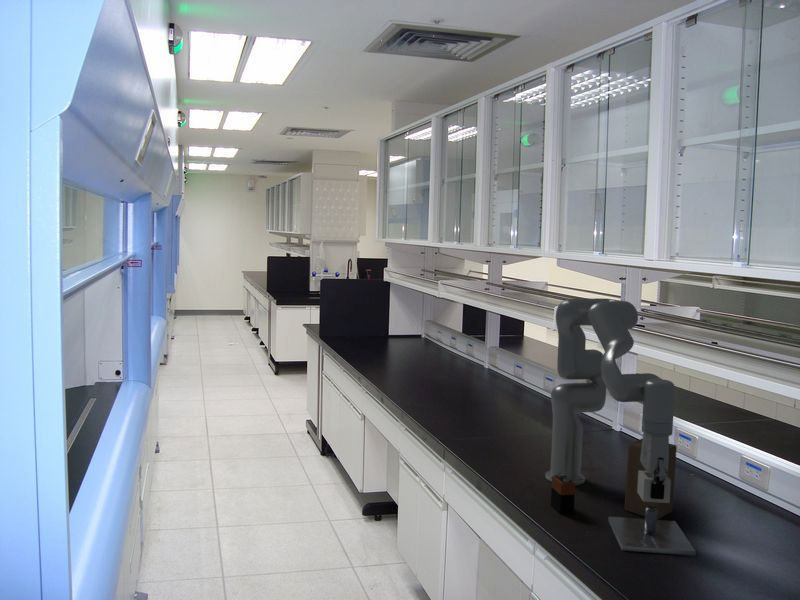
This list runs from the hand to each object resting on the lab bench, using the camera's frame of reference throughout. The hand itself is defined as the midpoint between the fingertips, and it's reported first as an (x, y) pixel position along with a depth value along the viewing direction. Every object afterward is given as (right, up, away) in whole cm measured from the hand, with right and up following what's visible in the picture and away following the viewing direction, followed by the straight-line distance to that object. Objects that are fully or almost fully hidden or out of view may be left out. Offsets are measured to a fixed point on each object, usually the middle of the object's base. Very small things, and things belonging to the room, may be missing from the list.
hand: (653, 492), depth 181 cm
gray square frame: (0, -1, 0) cm, 1 cm away
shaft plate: (0, -12, +2) cm, 12 cm away
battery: (-20, -10, +19) cm, 29 cm away
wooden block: (+5, -11, +19) cm, 23 cm away
